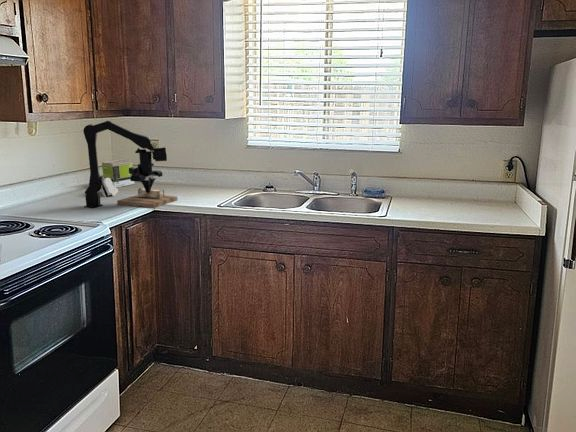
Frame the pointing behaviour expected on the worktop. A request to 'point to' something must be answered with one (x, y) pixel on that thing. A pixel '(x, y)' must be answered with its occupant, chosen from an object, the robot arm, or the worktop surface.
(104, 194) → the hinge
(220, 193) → the worktop surface
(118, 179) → the tea box
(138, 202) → the seat board
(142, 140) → the robot arm
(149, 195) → the leg
